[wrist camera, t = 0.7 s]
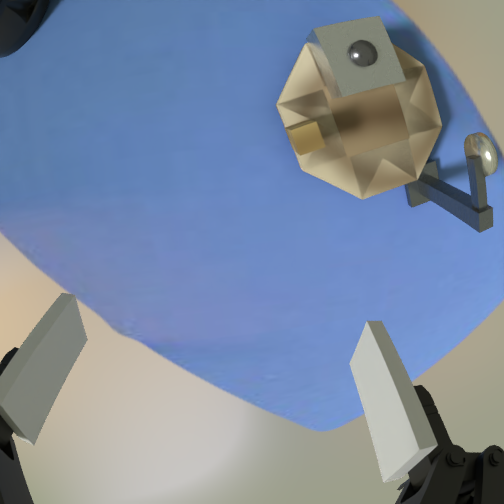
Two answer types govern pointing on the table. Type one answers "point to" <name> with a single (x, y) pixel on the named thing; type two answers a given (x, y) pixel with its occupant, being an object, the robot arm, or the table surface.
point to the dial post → (453, 199)
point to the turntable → (360, 127)
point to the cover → (355, 56)
